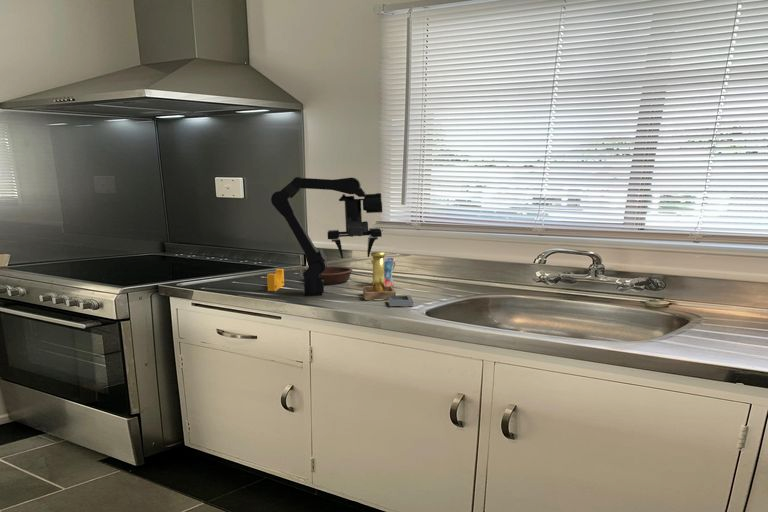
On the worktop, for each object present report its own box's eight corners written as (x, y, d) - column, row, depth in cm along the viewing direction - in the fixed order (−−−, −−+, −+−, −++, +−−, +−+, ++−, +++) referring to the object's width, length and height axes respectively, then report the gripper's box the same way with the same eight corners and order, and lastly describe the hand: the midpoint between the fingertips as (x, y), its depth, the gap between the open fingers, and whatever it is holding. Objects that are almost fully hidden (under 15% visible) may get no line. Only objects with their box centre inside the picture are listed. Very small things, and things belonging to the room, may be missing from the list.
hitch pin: (371, 297, 177) (371, 253, 175) (370, 293, 182) (370, 251, 180) (386, 296, 177) (386, 253, 175) (385, 293, 182) (385, 251, 180)
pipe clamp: (273, 285, 201) (272, 268, 200) (284, 285, 201) (283, 269, 200) (263, 291, 189) (262, 274, 188) (274, 292, 189) (274, 274, 188)
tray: (364, 300, 174) (364, 292, 174) (363, 293, 184) (363, 286, 184) (395, 300, 175) (395, 291, 175) (392, 293, 185) (392, 285, 185)
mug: (384, 289, 191) (384, 261, 190) (365, 286, 197) (365, 259, 196) (404, 284, 201) (404, 257, 199) (385, 281, 206) (385, 255, 205)
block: (389, 307, 165) (389, 301, 165) (387, 301, 173) (387, 295, 173) (413, 306, 166) (413, 300, 166) (409, 301, 174) (409, 295, 173)
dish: (364, 280, 211) (364, 268, 211) (328, 289, 194) (327, 276, 193) (333, 275, 222) (332, 263, 221) (295, 283, 204) (295, 271, 203)
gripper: (327, 216, 171) (329, 262, 173) (382, 213, 173) (384, 259, 175) (326, 214, 182) (328, 258, 184) (378, 212, 184) (380, 255, 186)
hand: (355, 257), depth 182 cm, fingers open, 9 cm apart
